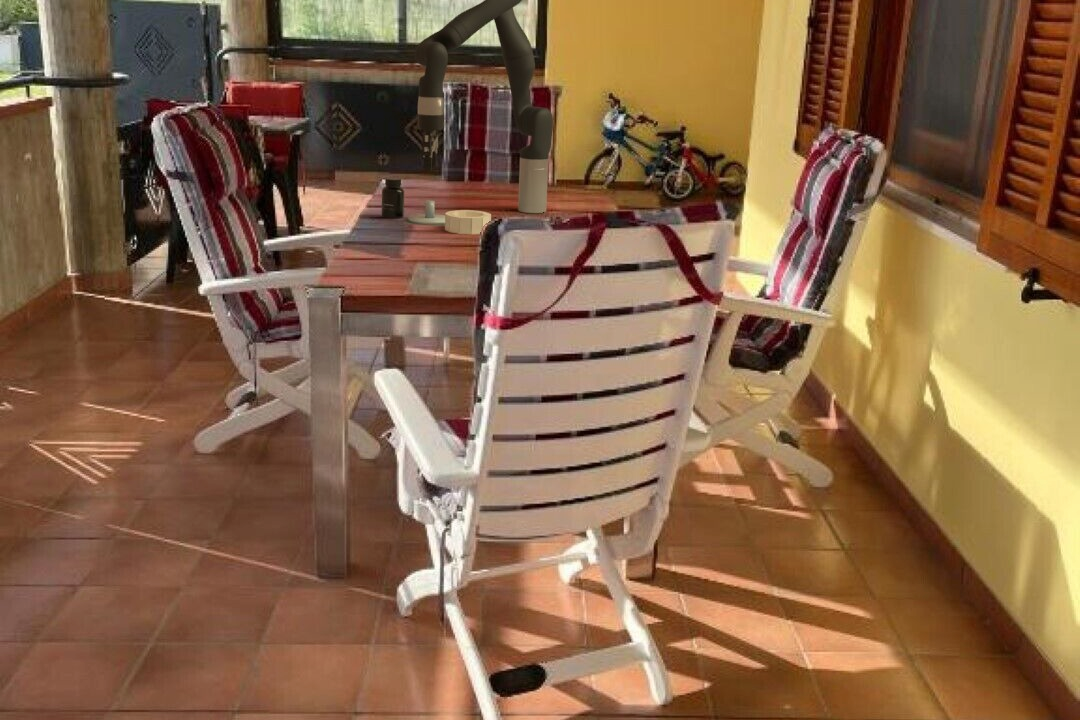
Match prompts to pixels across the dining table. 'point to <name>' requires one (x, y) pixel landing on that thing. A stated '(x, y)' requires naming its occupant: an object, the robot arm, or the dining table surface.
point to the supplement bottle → (392, 199)
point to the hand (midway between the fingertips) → (430, 168)
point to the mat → (420, 224)
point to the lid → (428, 216)
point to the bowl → (466, 221)
